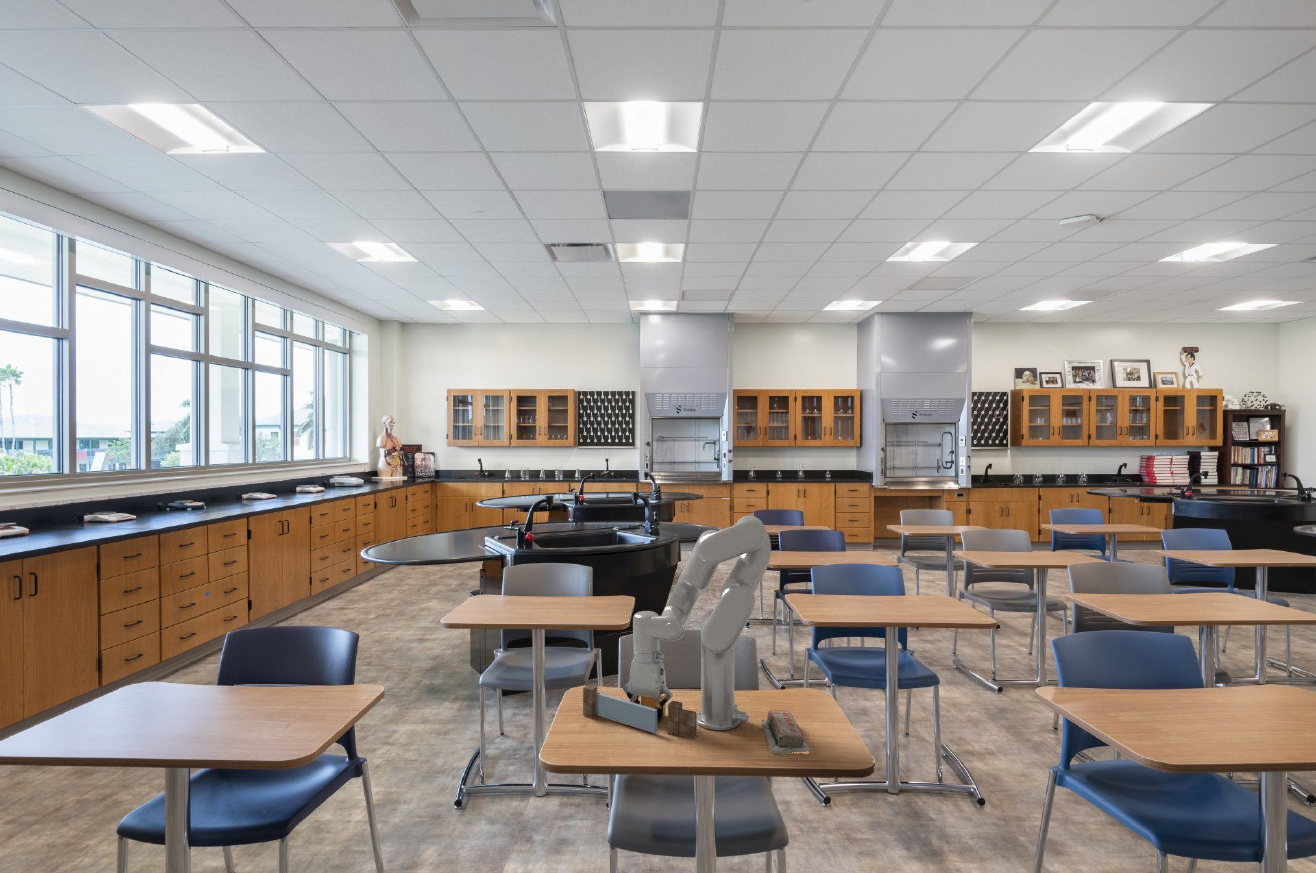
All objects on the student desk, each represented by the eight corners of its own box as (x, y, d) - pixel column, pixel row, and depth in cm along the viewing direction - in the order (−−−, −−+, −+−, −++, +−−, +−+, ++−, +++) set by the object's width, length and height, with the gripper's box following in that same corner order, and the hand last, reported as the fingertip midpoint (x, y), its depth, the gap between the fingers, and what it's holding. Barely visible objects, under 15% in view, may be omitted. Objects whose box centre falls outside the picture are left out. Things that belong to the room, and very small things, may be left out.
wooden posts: (697, 734, 171) (697, 705, 172) (693, 739, 169) (693, 709, 169) (588, 711, 186) (588, 684, 186) (582, 715, 184) (583, 687, 184)
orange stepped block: (648, 710, 187) (648, 690, 187) (665, 715, 184) (665, 694, 184) (626, 723, 178) (626, 702, 178) (643, 729, 175) (643, 707, 175)
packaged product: (760, 707, 179) (795, 708, 179) (760, 725, 179) (795, 725, 179) (771, 736, 161) (810, 737, 161) (771, 755, 161) (810, 756, 161)
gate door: (595, 714, 183) (595, 693, 183) (597, 713, 184) (597, 692, 184) (654, 733, 171) (654, 711, 171) (657, 731, 172) (657, 709, 172)
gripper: (679, 655, 181) (680, 718, 181) (626, 648, 189) (627, 708, 189) (668, 663, 175) (669, 729, 174) (614, 655, 182) (615, 718, 182)
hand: (647, 717), depth 181 cm, fingers closed on orange stepped block, 6 cm apart
